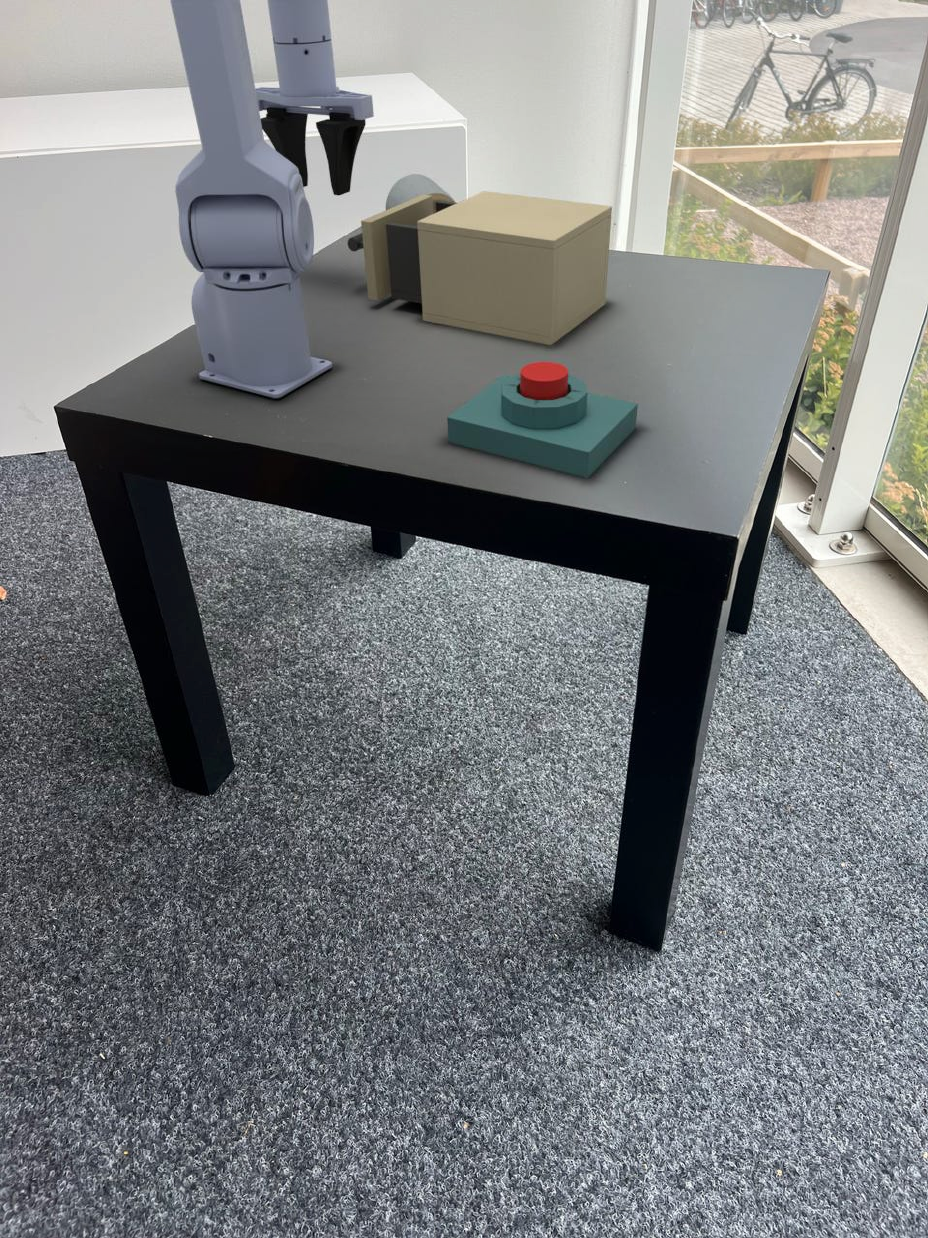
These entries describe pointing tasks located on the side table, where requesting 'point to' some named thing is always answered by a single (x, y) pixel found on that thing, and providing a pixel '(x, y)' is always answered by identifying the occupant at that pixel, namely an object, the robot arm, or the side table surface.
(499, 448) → the panel
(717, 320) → the side table surface
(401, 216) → the pulled-out drawer
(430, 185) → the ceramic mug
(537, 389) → the button
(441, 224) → the tan drawer box
